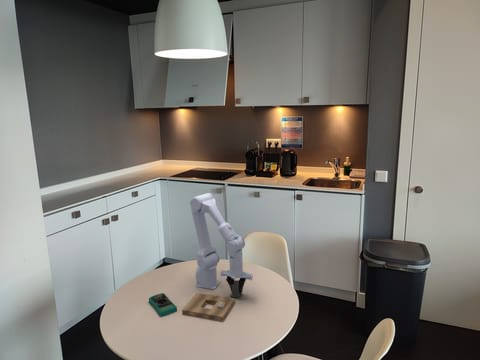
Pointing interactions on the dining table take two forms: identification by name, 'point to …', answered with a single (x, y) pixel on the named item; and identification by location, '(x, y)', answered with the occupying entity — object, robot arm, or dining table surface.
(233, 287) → the grey block
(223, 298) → the socket board
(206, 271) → the robot arm
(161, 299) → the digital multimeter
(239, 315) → the dining table surface
